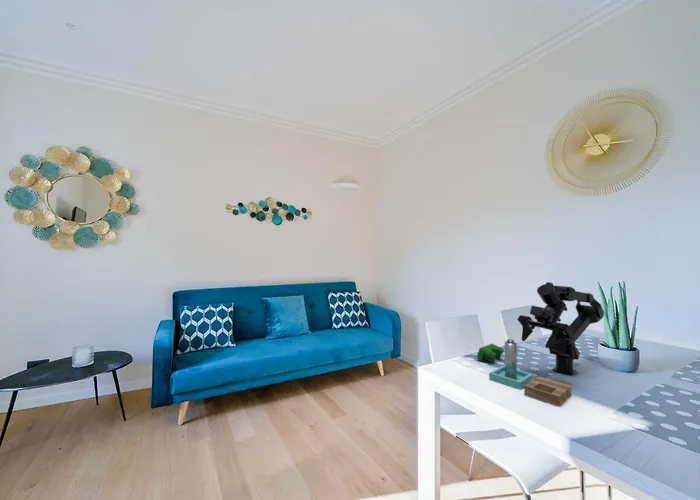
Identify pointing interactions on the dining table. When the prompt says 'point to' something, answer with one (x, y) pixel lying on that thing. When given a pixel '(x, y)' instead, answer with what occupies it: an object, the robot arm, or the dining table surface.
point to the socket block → (548, 391)
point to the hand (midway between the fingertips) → (533, 343)
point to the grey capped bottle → (511, 359)
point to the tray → (500, 377)
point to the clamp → (490, 353)
